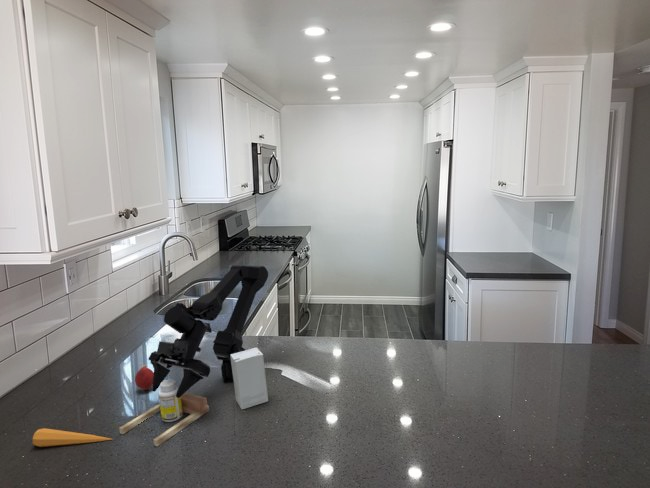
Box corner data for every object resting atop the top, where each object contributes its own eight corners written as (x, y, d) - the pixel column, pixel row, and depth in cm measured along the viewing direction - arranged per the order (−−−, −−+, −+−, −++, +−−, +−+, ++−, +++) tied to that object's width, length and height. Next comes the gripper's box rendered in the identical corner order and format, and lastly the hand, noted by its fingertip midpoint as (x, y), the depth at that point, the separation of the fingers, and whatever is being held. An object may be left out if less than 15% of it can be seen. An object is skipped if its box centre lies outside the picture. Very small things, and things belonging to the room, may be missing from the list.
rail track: (173, 400, 134) (171, 387, 134) (209, 410, 127) (207, 397, 127) (119, 433, 119) (117, 418, 118) (157, 446, 112) (155, 431, 111)
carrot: (32, 451, 115) (26, 439, 112) (41, 435, 119) (36, 424, 116) (112, 452, 115) (108, 441, 113) (119, 436, 119) (115, 425, 117)
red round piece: (149, 394, 139) (146, 370, 137) (132, 394, 140) (129, 369, 139) (160, 385, 144) (156, 361, 143) (143, 385, 146) (140, 361, 144)
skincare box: (262, 393, 135) (257, 346, 132) (269, 402, 129) (264, 353, 127) (234, 401, 131) (229, 352, 129) (240, 411, 126) (234, 360, 123)
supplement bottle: (175, 409, 129) (171, 376, 127) (187, 415, 125) (182, 381, 123) (157, 419, 125) (152, 384, 123) (168, 425, 121) (163, 389, 119)
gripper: (149, 324, 129) (120, 377, 121) (197, 332, 120) (170, 390, 112) (174, 340, 137) (148, 391, 129) (221, 349, 128) (197, 404, 120)
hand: (164, 394), depth 122 cm, fingers open, 9 cm apart
